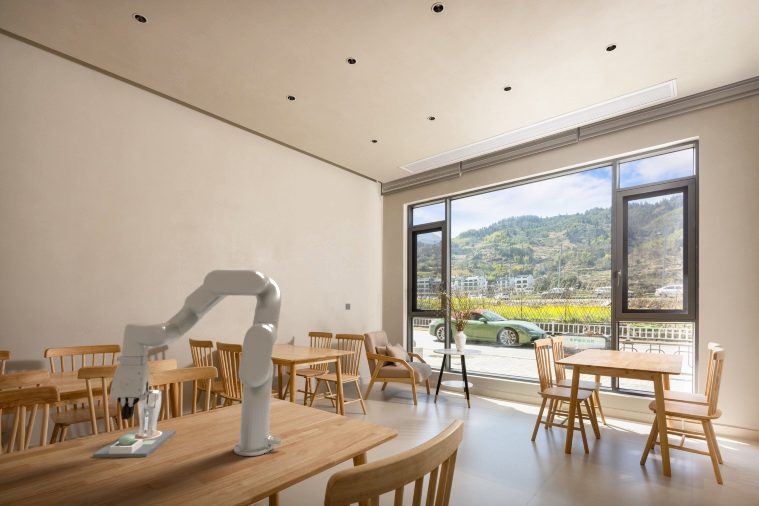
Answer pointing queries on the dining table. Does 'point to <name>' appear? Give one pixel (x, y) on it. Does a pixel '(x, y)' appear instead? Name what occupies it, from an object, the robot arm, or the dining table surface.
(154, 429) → the beer glass
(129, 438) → the button
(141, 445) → the picture board
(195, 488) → the dining table surface
